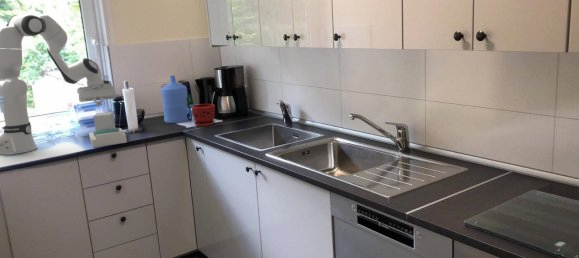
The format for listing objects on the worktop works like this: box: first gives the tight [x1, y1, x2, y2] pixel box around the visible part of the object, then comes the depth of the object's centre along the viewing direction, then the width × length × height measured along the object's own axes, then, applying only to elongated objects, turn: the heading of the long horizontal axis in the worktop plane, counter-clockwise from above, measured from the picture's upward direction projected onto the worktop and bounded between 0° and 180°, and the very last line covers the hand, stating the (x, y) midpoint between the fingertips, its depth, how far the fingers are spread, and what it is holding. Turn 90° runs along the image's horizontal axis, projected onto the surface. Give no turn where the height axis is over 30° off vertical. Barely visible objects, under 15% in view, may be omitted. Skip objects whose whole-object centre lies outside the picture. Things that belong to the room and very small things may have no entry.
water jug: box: [160, 75, 190, 124], centre depth 324 cm, size 16×16×28 cm
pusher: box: [94, 127, 119, 135], centre depth 279 cm, size 4×12×7 cm, turn 114°
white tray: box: [88, 127, 128, 148], centre depth 284 cm, size 20×17×6 cm
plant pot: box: [191, 103, 216, 128], centre depth 308 cm, size 13×13×12 cm
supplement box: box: [93, 111, 116, 131], centre depth 285 cm, size 9×9×15 cm
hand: (99, 105), depth 298 cm, fingers closed
